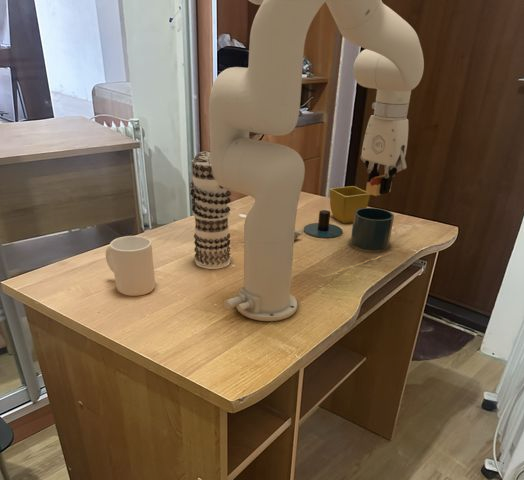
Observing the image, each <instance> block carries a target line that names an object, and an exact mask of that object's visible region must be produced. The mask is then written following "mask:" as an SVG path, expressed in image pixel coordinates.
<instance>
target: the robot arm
mask: <svg viewBox="0 0 524 480" xmlns="http://www.w3.org/2000/svg"><path fill="white" fill-rule="evenodd" d="M248 2H250V3H252V4H254V5H256V6H257V5H258V6H259V7H258V9H257V12H256V14H255V16H254V18H253V21H252V25H251V28H250V35H249V46H248V47H249V48H248V66H247V67H242V66H233V67H227V68H225V69H224V70H222V71H220V73H219V74H218V75H217V76H216V77H215V79H214V82H213V84H212V87H211V91H210V93H209V101H208V120H209V121H208V124H209V125H208V126H209V151H210V153H211V167H212V172H213V176H214V178H215V180H216V182H217V183H218V184H219V185H220V186H221V187H223V188H225V189H227V190H228V191H230V192H234V193H238V194H241V195H245V196H248V197H251V198H254V203H253V205H252V207H250V210H249V211H248V213H247V214H246V216H245V220H244V226H243V240H244V241H243V286H241V287H239V291H238V294H236V295H235V296H234V297H231V298H227V299H224V300H223V305H224V308H225V309H226V310H231V309H233V308H236V310H237V311H238V312H239V313H240V314H241V315H242V316H244V317H245V318H249V319H251V320H255V321H259V322H260V321H261V322H275V321H282V320H286V319H288V318H289V317H291V316H293V315H294V314H295V313H296V311H297V310H298V301H297V298H296V297H294V295H293V294H291V292H292V291H291V289H292V275H293V259H294V247H295V239H294V234H295V230H296V221H297V220H296V219H297V211H298V206H299V200H300V197H301V192H302V189H303V185H304V181H305V176H306V175H305V174H306V168H305V167H306V166H305V162H304V160H303V157H302V156H301V155H300V153H299V152H298V151H296V150H295V149H293V148H291V147H289V146H287V145H285V144H280V143H275V142H271V141H265V140H260V139H254V138H250V133H254V134H259V135H265V136H278V137H279V136H286V135H289V134H290V133H292V132H293V131H294V129H296V126H297V125H298V121H299V118H300V110H301V101H302V100H301V97H302V83H303V70H304V69H303V67H304V66H303V65H304V53H305V46H306V45H305V43H306V39H307V35H308V32H309V29H310V27H311V24H312V22H313V21H314V18H315V16H317V13H318V12H319V11H320V9H321V8H322V7H323V5H324V4H326V6H327V9H328V10H329V12H330V14H331V16H332V18H333V20H334V22H335V24H336V27H337V29H338V31H339V33H340V35H341V36H342V37H343V38H344V39H345V40H346V41H347V42H349V43H352V44H353V45H355V46H358V47H360V48H362V49H363V50H361V51H360V52H359V54H357V56H356V58H355V59H354V62H353V67H352V75H353V78H354V80H355V82H356V83H357V84H358V85H359V86H360V87H363V88H367V89H376V95H375V101H374V102H372V103H371V108H372V109H373V110H374V111H373V114H371V115H370V117H369V119H368V121H367V126H366V129H365V133H364V137H363V143H362V147H361V154H360V160H361V161H362V162H363V163H364V165H365V167H366V169H367V172H366V173H368V178H367V179H368V180H367V182H370V180H371V179H372V178H374V177H378V176H380V172H379V168H380V165H382V166H384V171H383V172H384V173H383V175H384V177H383V178H382V179H381V187H380V194H381V195H386V194H388V193H390V192H391V190H390V188H391V189H392V185H391V182H392V183H393V177H395V176H396V175H397V174H398V173H399V172H402V171H404V170H406V169H407V166H408V165H407V162H406V155H407V149H408V140H409V119H408V118H407V116H408V113H409V106H410V100H411V94H412V91H413V90H414V89H415V88H416V87H418V85H419V84H420V82H421V80H422V77H423V75H424V69H425V60H424V53H423V49H422V46H421V43H420V39H419V36H418V33H417V32H416V30H415V29H414V27H412V26H411V24H409V22H407V21H406V20H405V19H404V18H402V16H400V15H399V14H398V13H397V12H396V11H394V10H393V9H392V8H390V7H389V6H387V4H385V3H384V2H383V1H382V0H248ZM389 191H390V192H389Z"/></svg>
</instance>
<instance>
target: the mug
mask: <svg viewBox="0 0 524 480" xmlns="http://www.w3.org/2000/svg"><path fill="white" fill-rule="evenodd" d="M152 245H153V244H152V241H151V239H149V238H148V237H145V236H141V235H125V236H121V237H117V238H115V239H113V240H112V241H110V243H109V245H108V246H107V247H106V250H105V260H106V264H107V266H108V267H109V269H110V271H111V272H112V273H113V274H114V281H115V287H116V290H117V292H118V293H120V294H122V295H124V296H130V297H138V296H139V297H140V296H144V295H147V294H149V293H151V292H152V291H154V289H155V287H156V278H155V277H156V275H155V266H154V256H153V247H152Z"/></svg>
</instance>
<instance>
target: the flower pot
mask: <svg viewBox="0 0 524 480" xmlns="http://www.w3.org/2000/svg"><path fill="white" fill-rule="evenodd" d="M370 197H371V194H367V193H366V190H364V189H361V188H359V187H358V186H355V185H350V186H340V187H333V188H332V187H331V188H329V206H330V212H331V213H332V216H333V218H334V219H335V220H337V221H339V222H341V223H342V224H351V223H353V220H354V213H355V211H356V210H357V209H361V208H368V204H369V201H370Z"/></svg>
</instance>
